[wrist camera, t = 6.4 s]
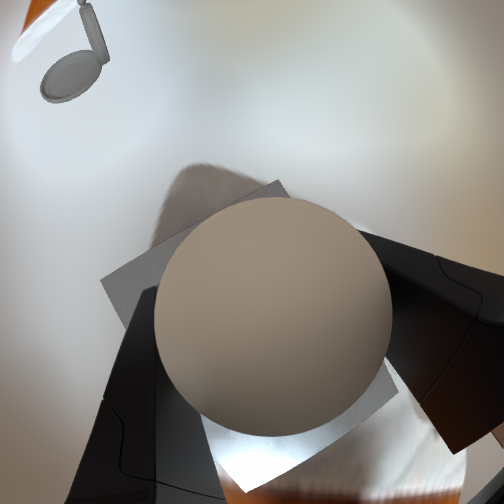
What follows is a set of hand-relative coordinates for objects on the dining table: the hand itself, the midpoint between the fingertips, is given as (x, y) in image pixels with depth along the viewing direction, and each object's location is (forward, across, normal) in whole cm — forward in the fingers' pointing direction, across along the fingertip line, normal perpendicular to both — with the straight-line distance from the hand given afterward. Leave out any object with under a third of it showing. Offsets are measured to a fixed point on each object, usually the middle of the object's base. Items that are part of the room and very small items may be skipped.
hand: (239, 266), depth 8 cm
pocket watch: (+25, +6, -7) cm, 27 cm away
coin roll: (+4, 0, +6) cm, 7 cm away
